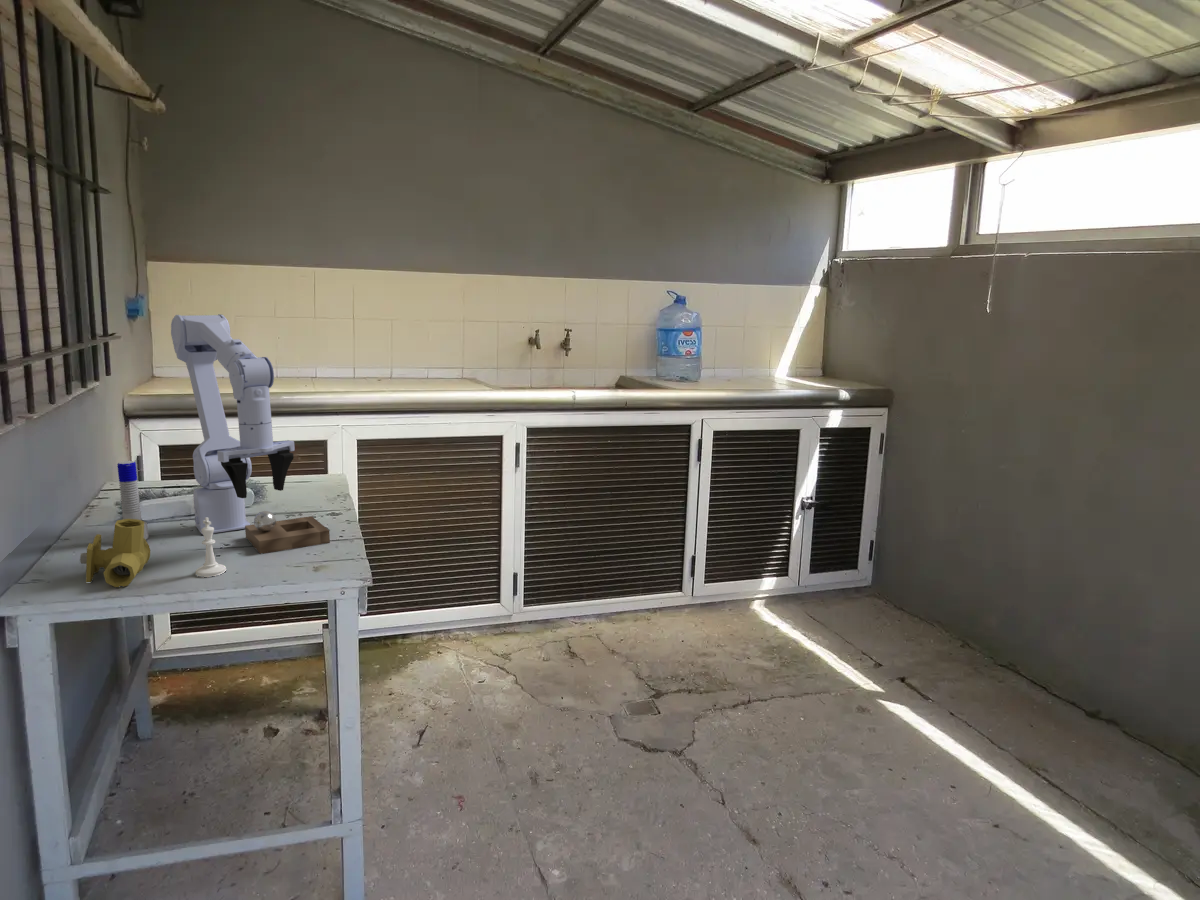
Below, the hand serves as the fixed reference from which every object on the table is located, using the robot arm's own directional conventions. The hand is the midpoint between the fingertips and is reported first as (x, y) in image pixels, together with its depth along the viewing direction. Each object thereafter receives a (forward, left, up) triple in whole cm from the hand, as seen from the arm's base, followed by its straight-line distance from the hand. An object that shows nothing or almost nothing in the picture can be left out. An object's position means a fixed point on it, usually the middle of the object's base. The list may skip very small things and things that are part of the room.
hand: (260, 493), depth 154 cm
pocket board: (+5, +2, -11) cm, 12 cm away
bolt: (-20, +18, -11) cm, 29 cm away
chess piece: (-11, -10, -11) cm, 18 cm away
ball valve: (-25, -3, -11) cm, 28 cm away
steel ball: (+1, +2, -6) cm, 7 cm away
